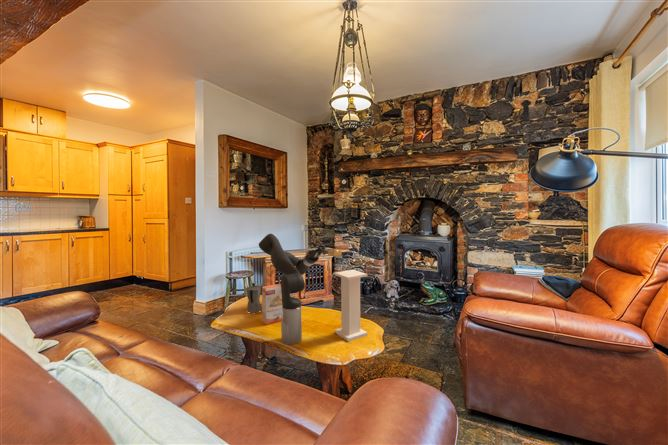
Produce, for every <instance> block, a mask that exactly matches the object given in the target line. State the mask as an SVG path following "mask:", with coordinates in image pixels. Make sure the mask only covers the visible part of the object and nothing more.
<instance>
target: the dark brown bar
mask: <svg viewBox="0 0 668 445" xmlns="http://www.w3.org/2000/svg"><path fill="white" fill-rule="evenodd" d="M318 248H319V247H317V248H316V249H318ZM321 249H322V247H321ZM320 252H322V253H326V254H327V255H328V256H331V257H334V258H335V257H341V256H343V255H342V254H343V253H342V251H341V250H339V249H338V248H337V249H330V250H329V249H322V250H321V251H320Z"/></svg>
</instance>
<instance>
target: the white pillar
mask: <svg viewBox="0 0 668 445" xmlns="http://www.w3.org/2000/svg"><path fill="white" fill-rule="evenodd" d="M333 274H334V276H337V277H339V278H340V280H341V281H340V284H341V285H340V292H341V293H340V300H341V301H340V302H341V307H340V309H341V310H340V311H341V317H340V320H341V324H340V325H341V327H340V328H336V329H334V333H335V334H337V335H338V336H339V337H341V338H342V339H343V340H344V341H347V343H349V342H352V341H355V340H357V339H358V340H359V339H361V338H363V337H367V336H368V332H367V331H365V330H364V329H362V328H361V278H367V277H368V273H365V272H362V271H359V270H356V269H349V270H342V271H337V272H336V271H335V272H334V273H333Z"/></svg>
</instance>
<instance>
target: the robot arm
mask: <svg viewBox="0 0 668 445" xmlns="http://www.w3.org/2000/svg"><path fill="white" fill-rule="evenodd" d="M258 247H259V249H260V250H261V251H262V252H263V253H265V254H267V255H268V256H270V261H271V264H272V265H273V268H274V269H275V270H276V271H277V272H278V273H280V274H283V275H282V276H281V279H280V283H281V293H282V311H283V321H280V327H281V328H280V330H281V332H280V333H281V341H282V342H283V344H285V345H296V344H299V343H300V342H302V340H303V335H302V332H303V330H302V324H303V323H302V300H301V299H300V298H297V297H294V296H291V294H296V293H301V292H303V291H304V290H305V287H306V283H305V280H304V277H303V276H304V274H305V273H307V272H308V269H309V268H310V267H311V266H313V265H314V264H316V263H317V261H319V259H320V257H321V256H322V255H323V256H325V255H326V253H322V252H320V251H321V250H322V249H326V246H319V247H317V248H318V249H317V248H315V249H311V250H309V251H308V252H305V253H306V254H305V255H304V256H303V257H302V258H300V257H296V256H295V255H294V254H292V253H291V252H288V251H285V250H284V249H283V247H282V245H281V243H280V240H279V239H278V238H277V236H275V235H274V234H273V233H268V234H266V235H265V236H264V237H263V238H262V240H261V241H259V242H258ZM321 248H322V249H321ZM326 250H327V249H326Z"/></svg>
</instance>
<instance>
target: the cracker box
mask: <svg viewBox="0 0 668 445" xmlns="http://www.w3.org/2000/svg"><path fill="white" fill-rule="evenodd" d="M261 309H262V311H261V312H262V313H261V315H262V316H261V317H262V318H261V319H262V320H261V321H262V323H263V324H264V325H265V326H267V325H271V324H272V325H273V324H275V323H281V322H282V321H283V311H282V293H281V282H280V283H276V284H271V285H264V286H261Z"/></svg>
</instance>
